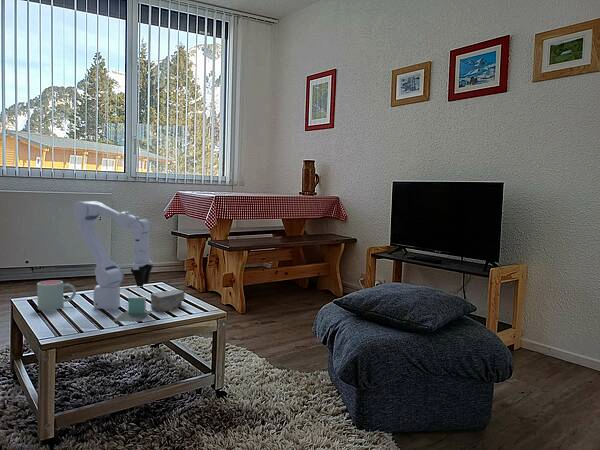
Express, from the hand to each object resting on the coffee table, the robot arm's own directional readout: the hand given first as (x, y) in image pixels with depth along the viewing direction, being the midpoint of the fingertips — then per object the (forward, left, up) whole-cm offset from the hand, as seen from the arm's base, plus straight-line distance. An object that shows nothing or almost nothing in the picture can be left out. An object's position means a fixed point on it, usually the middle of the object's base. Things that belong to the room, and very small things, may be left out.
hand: (142, 284), depth 188 cm
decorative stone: (+8, +4, -11) cm, 14 cm away
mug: (-35, +3, -11) cm, 37 cm away
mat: (0, -9, -10) cm, 14 cm away
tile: (0, -5, -10) cm, 11 cm away
